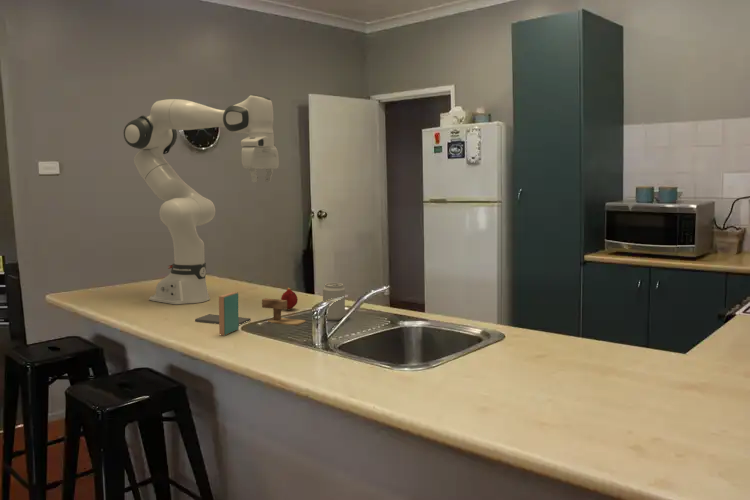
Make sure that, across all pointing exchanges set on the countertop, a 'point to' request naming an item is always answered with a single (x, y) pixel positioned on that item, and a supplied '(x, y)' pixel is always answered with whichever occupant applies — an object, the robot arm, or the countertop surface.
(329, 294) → the can
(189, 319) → the countertop surface
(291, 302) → the onion
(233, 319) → the tile
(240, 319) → the mat
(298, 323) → the wooden trowel
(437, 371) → the countertop surface
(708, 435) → the countertop surface
